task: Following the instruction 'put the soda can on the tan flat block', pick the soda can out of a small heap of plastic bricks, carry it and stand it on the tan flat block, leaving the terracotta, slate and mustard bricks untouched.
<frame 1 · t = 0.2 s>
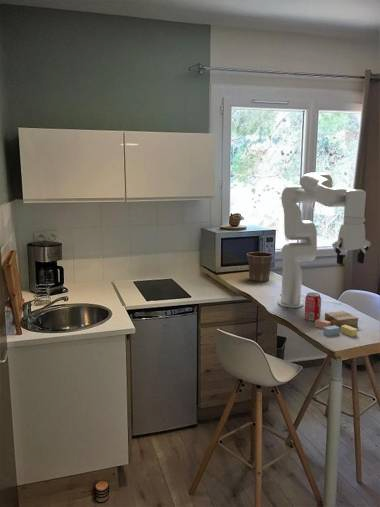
hand: (350, 263, 179), 31 cm above the breakfast bar, fingers open, 9 cm apart
tan flat block: (340, 324, 199), on the breakfast bar
plant pot: (258, 279, 276), on the breakfast bar
slate brick: (331, 334, 187), on the breakfast bar
terracotta brick: (322, 327, 195), on the breakfast bar
mustard brick: (348, 334, 187), on the breakfast bar
soda can: (311, 319, 204), on the breakfast bar
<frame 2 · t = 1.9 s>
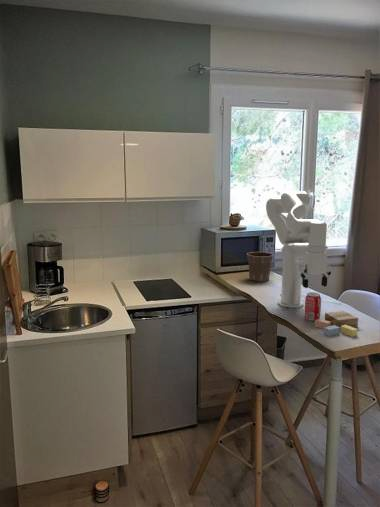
hand: (314, 286, 201), 16 cm above the breakfast bar, fingers open, 9 cm apart
nothing on the breakfast bar moved.
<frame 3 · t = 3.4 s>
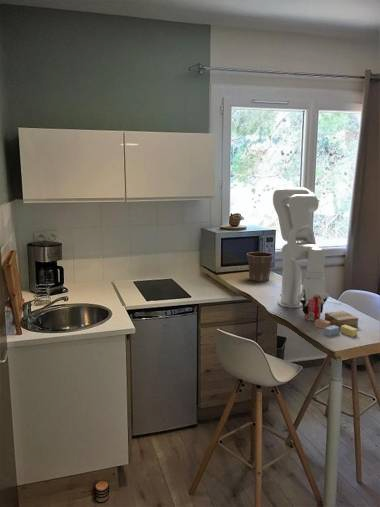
hand: (312, 312, 204), 3 cm above the breakfast bar, fingers closed on soda can, 7 cm apart
soda can: (311, 319, 204), on the breakfast bar, touching gripper
everything else where it was.
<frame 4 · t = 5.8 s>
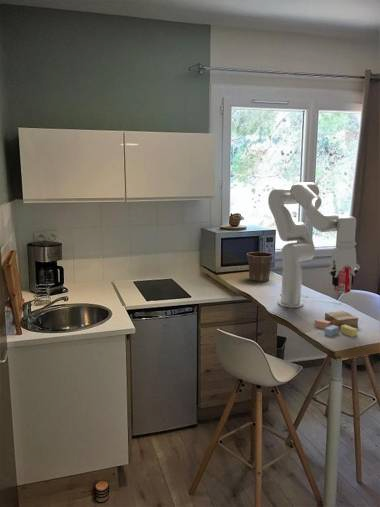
hand: (342, 284, 195), 18 cm above the breakfast bar, fingers closed on soda can, 7 cm apart
soda can: (342, 292, 196), point 15 cm above the breakfast bar, touching gripper
everything else where it was.
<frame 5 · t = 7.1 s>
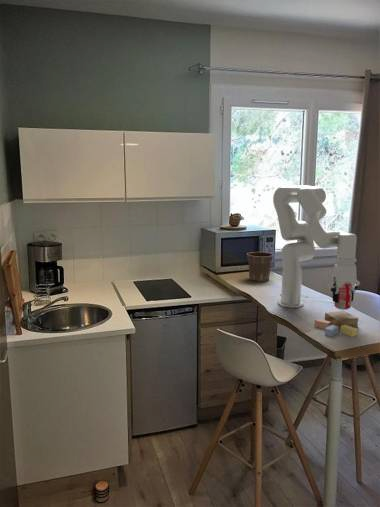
hand: (342, 300, 196), 11 cm above the breakfast bar, fingers closed on soda can, 7 cm apart
soda can: (342, 308, 197), point 7 cm above the breakfast bar, touching gripper
everything else where it was.
when the fingers open (9 cm above the breakfast bar, at t = 8.1 s): soda can drops 1 cm, resting on tan flat block.
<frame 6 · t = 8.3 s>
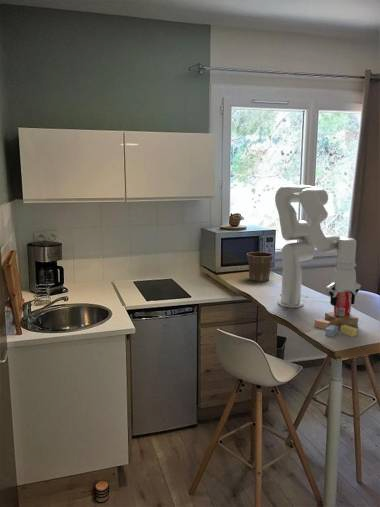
hand: (342, 304, 197), 9 cm above the breakfast bar, fingers open, 9 cm apart
soda can: (341, 315, 198), point 4 cm above the breakfast bar, touching tan flat block
everything else where it was.
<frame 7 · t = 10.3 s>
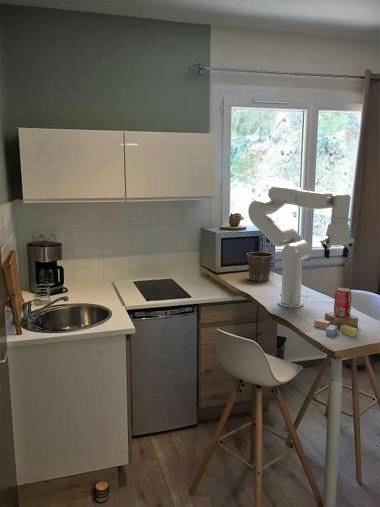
hand: (335, 257, 207), 28 cm above the breakfast bar, fingers open, 9 cm apart
nothing on the breakfast bar moved.
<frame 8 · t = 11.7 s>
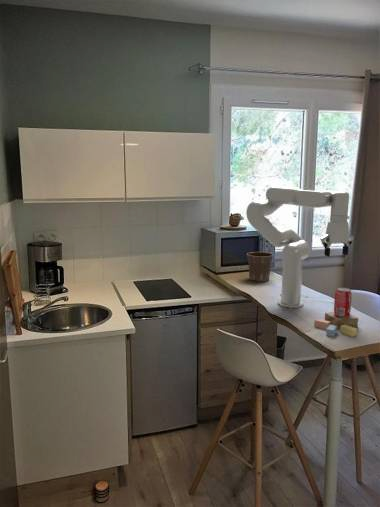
hand: (336, 255, 208), 28 cm above the breakfast bar, fingers open, 9 cm apart
at the end: soda can inside the target area on the tan flat block (0.4 cm from its centre), point 3.8 cm above the tan flat block's base; soda can tilted 0°; terracotta brick moved 0.3 cm from its start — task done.
